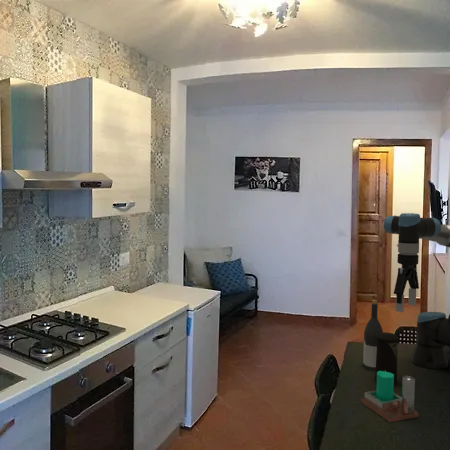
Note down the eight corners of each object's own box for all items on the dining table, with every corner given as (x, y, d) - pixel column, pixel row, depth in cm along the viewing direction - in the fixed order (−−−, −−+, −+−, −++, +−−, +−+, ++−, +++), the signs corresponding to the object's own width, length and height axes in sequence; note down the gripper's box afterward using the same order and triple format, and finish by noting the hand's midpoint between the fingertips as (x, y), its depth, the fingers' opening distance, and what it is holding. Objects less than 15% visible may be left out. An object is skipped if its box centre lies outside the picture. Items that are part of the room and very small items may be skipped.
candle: (372, 400, 175) (373, 368, 174) (384, 397, 178) (385, 365, 177) (384, 407, 170) (385, 374, 169) (396, 403, 173) (398, 371, 172)
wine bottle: (381, 371, 206) (384, 303, 204) (362, 369, 209) (364, 301, 207) (382, 365, 214) (384, 299, 212) (363, 363, 217) (365, 297, 214)
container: (398, 387, 191) (400, 338, 189) (375, 385, 193) (376, 336, 191) (395, 378, 199) (397, 331, 198) (373, 376, 201) (374, 330, 199)
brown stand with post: (387, 397, 181) (389, 362, 180) (418, 416, 166) (419, 379, 165) (361, 402, 177) (362, 366, 176) (389, 422, 162) (391, 383, 161)
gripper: (409, 249, 195) (407, 300, 197) (386, 256, 176) (384, 312, 178) (428, 251, 191) (426, 303, 192) (406, 258, 172) (404, 316, 173)
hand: (406, 308), depth 185 cm, fingers open, 13 cm apart
